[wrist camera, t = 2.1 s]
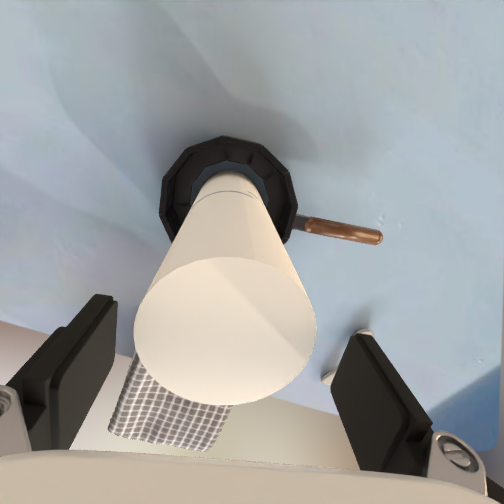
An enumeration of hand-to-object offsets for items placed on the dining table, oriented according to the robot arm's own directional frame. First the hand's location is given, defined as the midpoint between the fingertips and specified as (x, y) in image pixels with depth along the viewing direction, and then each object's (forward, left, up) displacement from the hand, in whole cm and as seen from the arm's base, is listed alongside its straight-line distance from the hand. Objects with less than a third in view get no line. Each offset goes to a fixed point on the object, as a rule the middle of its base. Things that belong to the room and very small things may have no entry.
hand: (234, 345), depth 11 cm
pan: (0, +5, -25) cm, 26 cm away
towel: (+26, -2, -25) cm, 36 cm away
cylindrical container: (0, 0, -25) cm, 25 cm away
